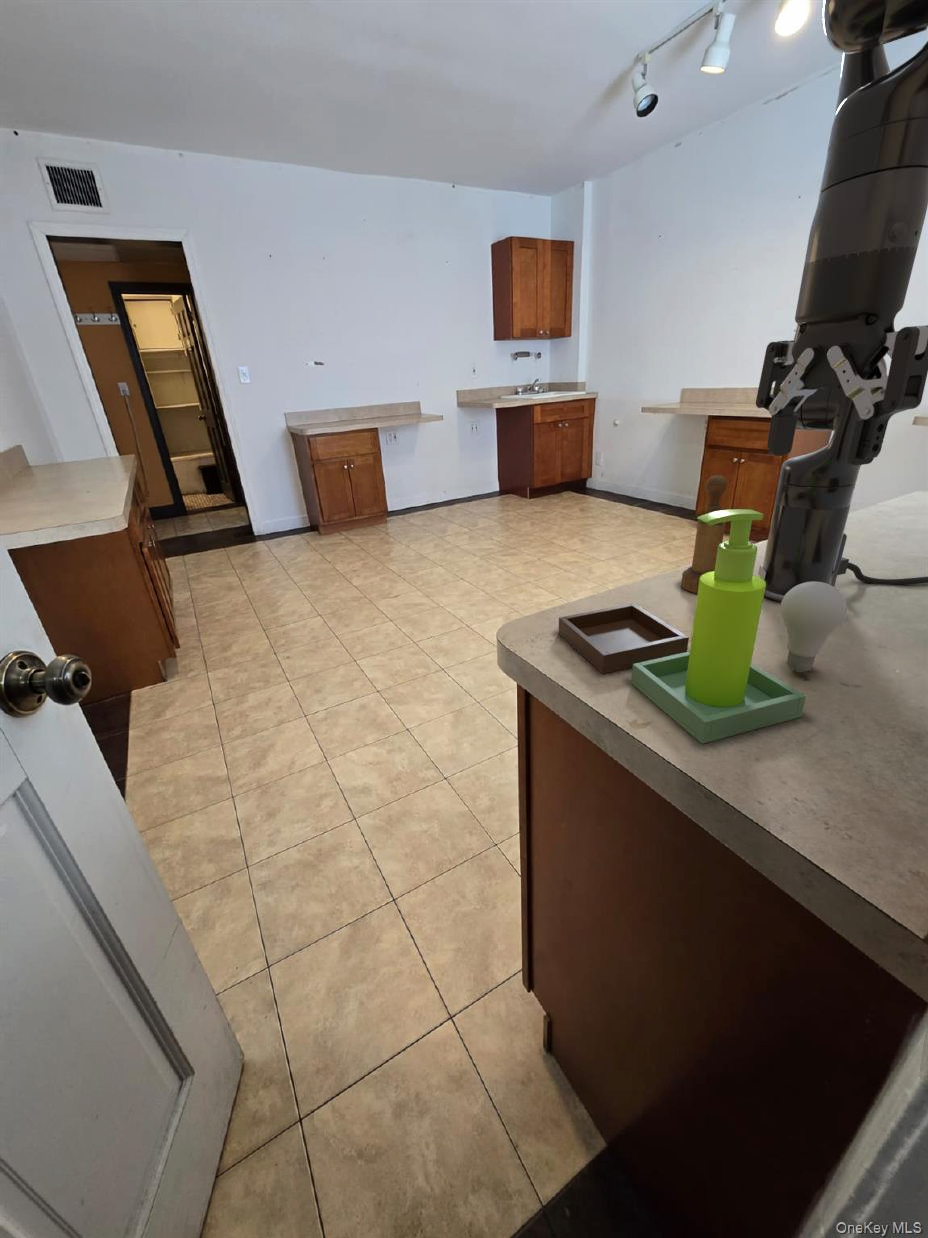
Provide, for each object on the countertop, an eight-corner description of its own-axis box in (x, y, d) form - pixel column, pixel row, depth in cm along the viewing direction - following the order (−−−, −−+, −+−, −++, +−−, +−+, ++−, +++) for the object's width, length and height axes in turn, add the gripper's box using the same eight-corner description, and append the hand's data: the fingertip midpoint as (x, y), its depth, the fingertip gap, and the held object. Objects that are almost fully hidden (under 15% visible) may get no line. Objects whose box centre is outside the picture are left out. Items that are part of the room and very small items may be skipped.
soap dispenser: (666, 681, 59) (687, 507, 50) (725, 675, 59) (754, 501, 51) (691, 711, 53) (719, 521, 45) (755, 704, 54) (794, 515, 45)
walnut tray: (632, 619, 75) (633, 602, 74) (686, 655, 65) (689, 637, 64) (558, 633, 73) (558, 617, 72) (602, 674, 62) (603, 655, 61)
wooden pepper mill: (728, 595, 81) (747, 479, 74) (684, 594, 82) (698, 480, 75) (718, 580, 87) (734, 471, 79) (677, 579, 88) (690, 473, 81)
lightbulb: (821, 661, 62) (843, 575, 57) (836, 688, 56) (862, 595, 52) (763, 655, 64) (781, 572, 59) (773, 681, 58) (792, 591, 54)
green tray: (717, 663, 63) (720, 644, 62) (801, 717, 52) (806, 695, 51) (631, 683, 60) (632, 663, 59) (701, 744, 49) (705, 722, 48)
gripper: (996, 228, 36) (925, 463, 43) (818, 270, 49) (785, 447, 56) (916, 229, 35) (856, 474, 42) (753, 272, 47) (727, 455, 54)
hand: (815, 458), depth 49 cm, fingers open, 8 cm apart
